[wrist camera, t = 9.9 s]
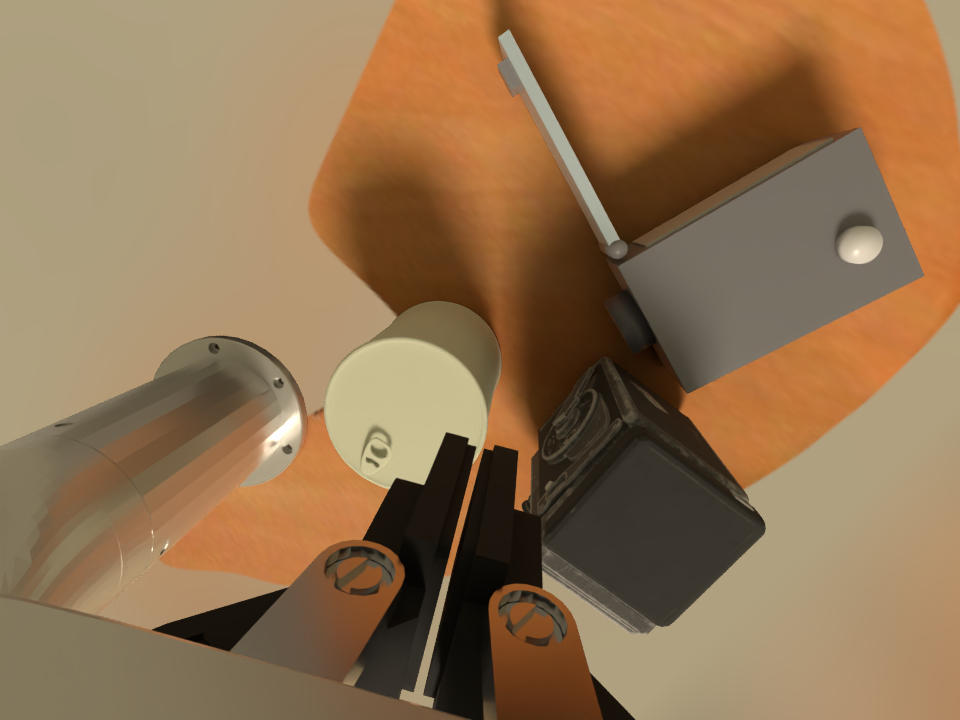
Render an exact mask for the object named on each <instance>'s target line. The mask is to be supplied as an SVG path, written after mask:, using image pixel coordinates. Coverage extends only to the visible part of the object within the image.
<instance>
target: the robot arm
mask: <svg viewBox="0 0 960 720" xmlns="http://www.w3.org/2000/svg"><path fill="white" fill-rule="evenodd" d="M281 379H282V380H283V382H282V380H281ZM306 430H307V412H306V407H305V403H304V398H303V396H302V394H301V391H300V389H299V387H298V384H297V383H296V381H295V380H294V378H293V377H292V375H291V374H290V372H289V371H288V370H287V369H286V367H285V366H284V365H283V364H282V363H281V362H280V361H279V360H278V359H277V358H276V357H274V356H273V355H272V354H270V353H269V352H268V351H267V350H265V349H263V348H261V347H259V346H258V345H256V344H254V343H252V342H249V341H246V340H243V339H240V338H236V337H228V336H208V337H204V338H201V339H197V340H194V341H192V342H189V343H187V344H184V345H182V346H180V347H179V348H177V349H176V350H174V351H173V352H172V353H170V355H169V356H168V357H167V358H166V359H165V360H164V361H163V362H162V363H161V365H160V367H159V369H158V370H157V372H156V374H155V377H154V380H153V381H151V382H149V383H146V384H144V385H141V386H139V387H137V388H134V389H132V390H130V391H127V392H125V393H123V394H120V395H118V396H116V397H114V398H111V399H109V400H107V401H104V402H102V403H100V404H97V405H95V406H93V407H90V408H88V409H86V410H84V411H81V412H79V413H77V414H74V415H72V416H70V417H68V418H65V419H63V420H60V421H58V422H56V423H53V424H51V425H49V426H47V427H44V428H42V429H40V430H37V431H35V432H33V433H30V434H28V435H26V436H24V437H21V438H19V439H16V440H14V441H12V442H9V443H7V444H4V445H2V446H0V720H635V719H634V718H633V717H632V716H631V715H630V714H629V713H628V711H627V710H625V708H624V707H623V706H622V705H621V704H620V703H619V702H618V701H617V700H616V699H615V698H614V697H613V696H612V695H611V694H610V693H609V692H608V691H607V690H606V689H605V688H604V687H603V686H602V685H601V684H600V683H599V681H598V680H597V679H596V678H595V677H594V676H593V675H592V674H591V673H590V671H589V668H588V664H587V661H586V657H585V654H584V650H583V646H582V643H581V639H580V636H579V632H578V629H577V625H576V622H575V620H574V618H573V616H572V614H571V612H570V611H569V609H568V608H567V607H566V606H565V605H564V603H563V602H561V601H560V600H559V599H558V598H556V597H555V596H554V595H552V594H551V593H549V592H547V591H545V590H543V589H542V537H541V517H540V516H538V515H534V514H530V513H527V512H523V511H519V510H515V509H514V503H515V489H516V475H517V461H518V451H516V450H513V449H509V448H505V447H501V446H497V445H495V446H494V449H493V451H491V450H488V449H484V451H483V455H482V458H481V462H480V466H479V470H478V473H477V477H476V481H475V485H474V489H473V492H472V496H471V500H470V504H469V507H468V511H467V515H466V519H465V523H464V526H463V530H462V534H461V538H460V541H459V545H458V549H457V553H456V557H455V561H454V565H453V569H452V574H451V578H450V582H449V586H448V591H447V595H446V599H445V603H444V608H443V612H442V617H441V621H440V625H439V629H438V633H437V638H436V642H435V646H434V651H433V655H432V659H431V663H430V668H429V672H428V677H427V680H426V685H425V689H424V694H423V695H425V696H428V697H432V698H434V703H433V708H429V707H425V706H421V705H418V704H415V703H411V702H408V701H404V700H400V699H399V697H400V694H401V690H402V689H404V690H407V691H411V692H414V688H415V685H416V681H417V677H418V673H419V669H420V665H421V662H422V658H423V654H424V650H425V646H426V642H427V639H428V635H429V631H430V627H431V623H432V619H433V616H434V612H435V608H436V604H437V600H438V596H439V592H440V589H441V584H442V581H443V577H444V573H445V569H446V566H447V562H448V558H449V554H450V550H451V546H452V542H453V538H454V534H455V530H456V526H457V523H458V519H459V515H460V511H461V507H462V503H463V499H464V495H465V491H466V487H467V483H468V479H469V475H470V471H471V467H472V463H473V459H474V455H475V451H476V446H473V445H469V444H468V441H469V438H467V437H463V436H460V435H456V434H452V433H448V432H446V433H445V436H444V438H443V441H442V443H441V446H440V448H439V450H438V453H437V455H436V458H435V460H434V463H433V465H432V467H431V470H430V472H429V475H428V477H427V480H426V482H425V484H424V485H422V484H418V483H415V482H411V481H407V480H404V479H400V478H396V479H395V480H394V482H393V484H392V485H391V487H390V489H389V491H388V493H387V495H386V497H385V499H384V501H383V502H382V504H381V506H380V508H379V510H378V512H377V514H376V516H375V517H374V519H373V521H372V523H371V525H370V527H369V529H368V531H367V533H366V534H365V536H364V538H363V540H350V541H343V542H339V543H337V544H334V545H332V546H329V547H328V548H327V549H325V550H324V551H323V552H321V553H320V554H319V555H318V556H317V558H316V559H315V560H314V561H313V562H312V563H311V564H310V565H309V566H308V567H307V568H306V569H305V570H304V572H303V573H302V574H301V575H300V576H299V577H298V578H297V579H296V580H295V581H294V582H293V583H292V585H291V586H290V587H288V588H285V589H282V590H278V591H275V592H272V593H268V594H265V595H262V596H258V597H255V598H252V599H248V600H245V601H241V602H238V603H235V604H231V605H228V606H224V607H221V608H218V609H214V610H211V611H208V612H205V613H201V614H198V615H194V616H191V617H188V618H184V619H181V620H177V621H174V622H171V623H167V624H165V625H162V626H160V627H157V628H155V629H152V630H149V629H145V628H141V627H138V626H134V625H131V624H127V623H123V622H120V621H116V620H113V619H109V618H105V617H101V616H98V614H99V613H100V612H101V611H103V610H104V609H105V608H106V607H107V606H108V605H109V604H110V603H111V602H112V601H113V600H114V599H115V598H116V597H118V596H119V595H120V594H121V593H122V592H123V591H124V590H125V589H126V588H127V587H129V586H130V585H131V584H132V583H133V582H134V581H135V580H136V579H137V578H139V577H140V576H141V575H142V574H143V573H144V572H145V571H146V570H147V569H148V568H149V567H151V566H152V565H153V564H154V563H155V562H156V561H157V560H158V559H159V558H160V557H162V556H163V555H164V554H165V553H166V552H167V551H168V550H169V549H170V548H171V547H173V546H174V545H175V544H176V543H177V542H178V541H179V540H180V539H181V538H182V537H183V536H185V535H186V534H187V533H188V532H189V531H190V530H191V529H192V528H193V527H194V526H195V525H197V524H198V523H199V522H200V521H201V520H202V519H203V518H204V517H205V516H206V515H208V514H209V513H210V512H211V511H212V510H213V509H214V508H215V507H216V506H217V505H218V504H220V503H221V502H222V501H223V500H224V499H225V498H226V497H227V496H228V495H229V494H231V493H232V492H233V491H234V490H235V489H236V488H237V487H250V486H254V485H259V484H262V483H265V482H267V481H269V480H272V479H274V478H275V477H276V476H278V475H279V474H281V473H282V472H283V471H284V470H285V469H286V468H287V467H288V466H289V465H290V464H291V463H292V462H293V461H294V459H295V458H296V457H297V455H298V454H299V452H300V450H301V448H302V445H303V443H304V440H305V435H306Z"/></svg>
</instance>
